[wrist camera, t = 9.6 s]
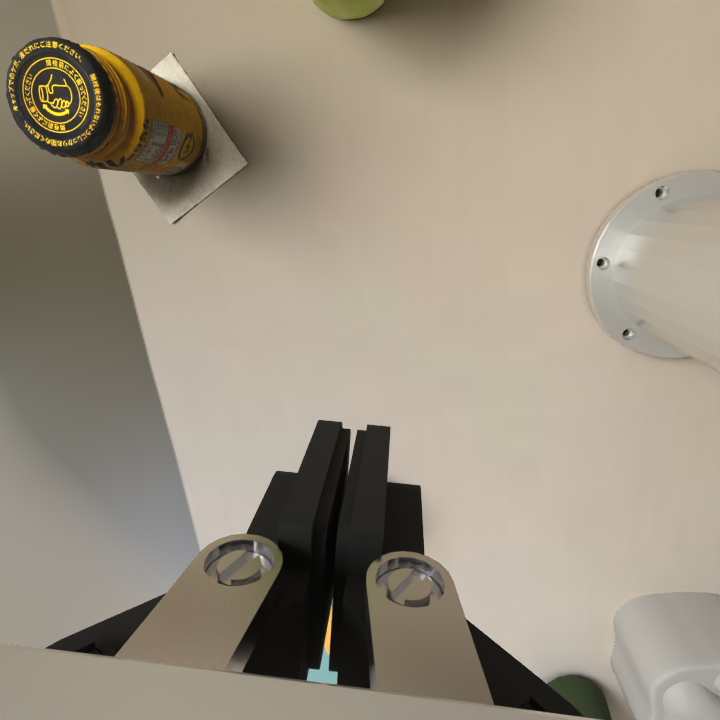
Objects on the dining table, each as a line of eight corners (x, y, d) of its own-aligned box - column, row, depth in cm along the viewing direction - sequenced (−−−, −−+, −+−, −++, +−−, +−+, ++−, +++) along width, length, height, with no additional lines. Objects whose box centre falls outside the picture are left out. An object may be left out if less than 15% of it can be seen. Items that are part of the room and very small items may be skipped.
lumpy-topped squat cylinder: (615, 592, 44) (664, 682, 36) (777, 591, 42) (867, 685, 34) (608, 683, 47) (651, 786, 39) (759, 685, 46) (837, 792, 37)
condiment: (172, 53, 34) (54, -22, 23) (248, 164, 36) (175, 147, 24) (95, 121, 36) (-49, 84, 24) (172, 224, 37) (70, 234, 26)
